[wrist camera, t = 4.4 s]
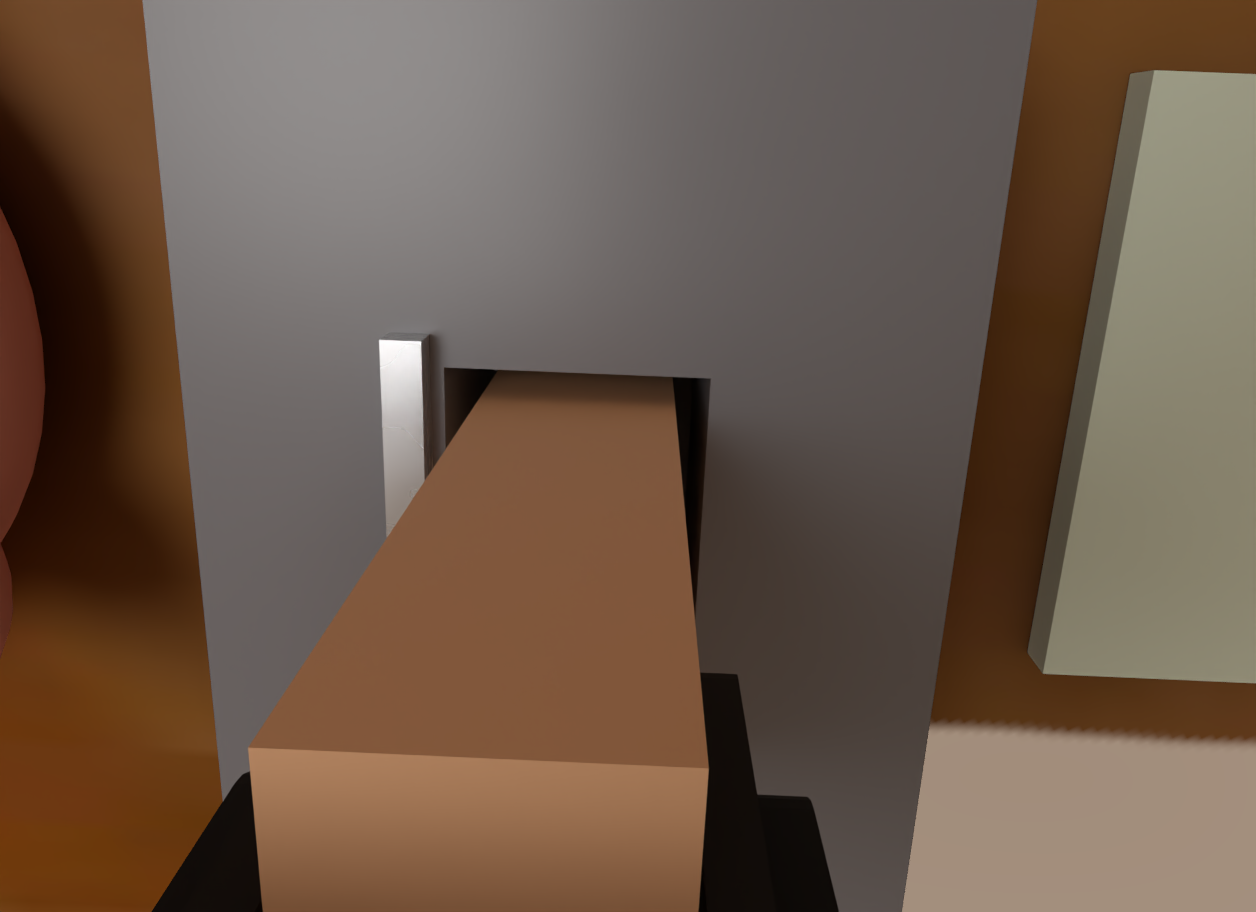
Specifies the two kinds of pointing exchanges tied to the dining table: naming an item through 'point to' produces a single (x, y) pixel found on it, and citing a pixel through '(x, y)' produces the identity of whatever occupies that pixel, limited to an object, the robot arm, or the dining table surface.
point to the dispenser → (603, 319)
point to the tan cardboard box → (506, 680)
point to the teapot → (16, 399)
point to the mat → (1164, 405)
